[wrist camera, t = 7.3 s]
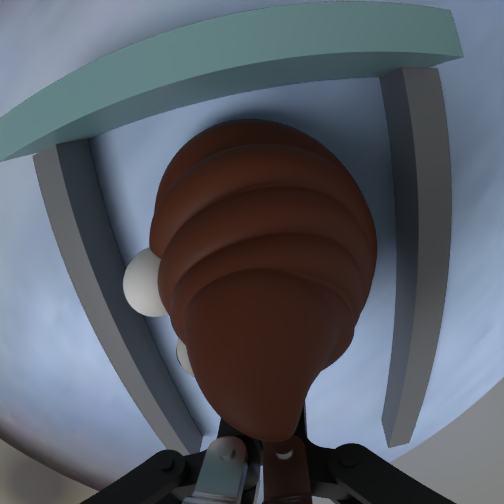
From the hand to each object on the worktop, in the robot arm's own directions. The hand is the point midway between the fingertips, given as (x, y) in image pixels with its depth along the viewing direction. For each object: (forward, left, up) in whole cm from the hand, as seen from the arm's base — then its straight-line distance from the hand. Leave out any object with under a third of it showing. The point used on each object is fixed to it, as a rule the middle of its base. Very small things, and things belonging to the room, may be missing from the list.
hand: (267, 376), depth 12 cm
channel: (-1, 0, -4) cm, 4 cm away
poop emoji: (-5, 0, -4) cm, 6 cm away
